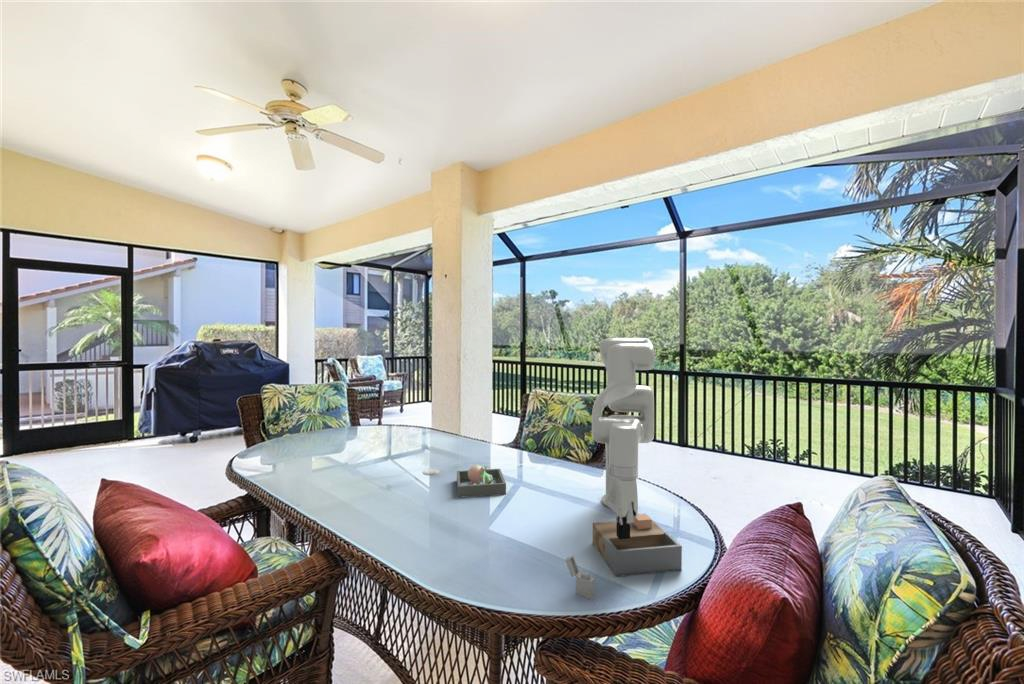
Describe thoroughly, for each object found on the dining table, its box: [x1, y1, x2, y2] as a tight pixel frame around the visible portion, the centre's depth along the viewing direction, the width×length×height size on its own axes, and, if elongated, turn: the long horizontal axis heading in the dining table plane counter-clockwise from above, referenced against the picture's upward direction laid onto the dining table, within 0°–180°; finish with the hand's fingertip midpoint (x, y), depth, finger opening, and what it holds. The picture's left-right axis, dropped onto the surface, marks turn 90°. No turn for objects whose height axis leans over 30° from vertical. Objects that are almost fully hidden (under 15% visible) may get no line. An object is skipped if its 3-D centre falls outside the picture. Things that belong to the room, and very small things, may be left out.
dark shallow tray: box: [456, 468, 507, 498], centre depth 179 cm, size 18×18×4 cm
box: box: [604, 531, 683, 578], centre depth 120 cm, size 8×18×6 cm, turn 99°
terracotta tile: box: [633, 513, 653, 529], centre depth 131 cm, size 4×4×2 cm
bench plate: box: [592, 519, 665, 561], centre depth 129 cm, size 10×18×6 cm, turn 99°
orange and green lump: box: [466, 464, 494, 485], centre depth 179 cm, size 12×10×9 cm
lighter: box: [564, 555, 595, 600], centre depth 109 cm, size 7×2×8 cm, turn 52°
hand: (623, 537), depth 122 cm, fingers closed
